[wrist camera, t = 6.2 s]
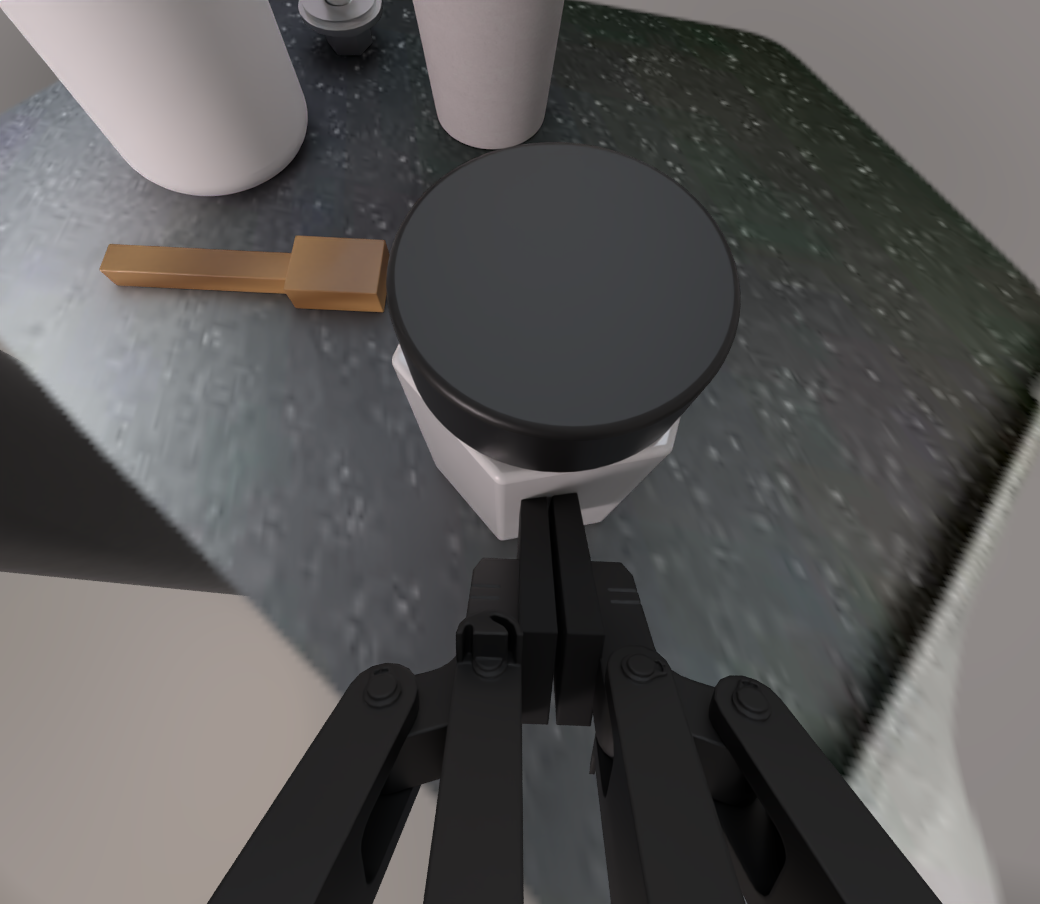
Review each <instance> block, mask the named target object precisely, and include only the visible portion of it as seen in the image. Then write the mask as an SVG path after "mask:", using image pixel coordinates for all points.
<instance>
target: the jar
mask: <svg viewBox="0 0 1040 904" xmlns="http://www.w3.org/2000/svg"><path fill="white" fill-rule="evenodd" d="M386 293H387V303H388V308H389V313H390V317H391V321H392V324H393V327H394V330H395V333H396V336H397V338H398V341H399V345H398V347H397V349H396V351H395V353H394V355H393V357H392V364H393V367H394V369H395V371H396V374H397V376H398V378H399V381H400V383H401V385H402V388H403V390H404V392H405V395H406V397H407V399H408V402H409V404H410V406H411V409H412V411H413V413H414V416H415V418H416V420H417V423H418V425H419V427H420V430H421V432H422V434H423V437H424V439H425V442H426V444H427V446H428V449H429V451H430V453H431V456H432V458H433V460H434V463H435V465H436V466H437V467H438V469H439V470H440V471H441V472H442V473H443V475H444V476H445V477H446V478H447V479H448V480H449V482H450V483H451V484H452V485H453V486H454V487H455V489H456V490H457V491H458V492H459V493H460V495H461V496H462V497H463V498H464V499H465V500H466V502H467V503H468V504H469V505H470V506H471V507H472V509H473V510H474V511H475V512H476V513H477V515H478V516H479V517H480V518H481V519H482V520H483V522H484V523H485V524H486V525H487V526H488V527H489V529H490V530H491V531H492V532H493V533H494V535H495V536H496V537H497V538H498V539H500V540H508V539H513V538H518V530H519V513H520V505H521V500H523V499H531V498H539V497H546V496H547V507H549V505H550V502H551V499H552V497H553V496H554V495H562V494H570V493H577V494H578V499H579V504H580V509H581V514H582V519H583V524H584V525H586V524H592V523H597V522H601V521H603V520H604V519H605V518H606V517H607V516H608V515H609V514H610V513H611V512H612V511H613V510H614V509H615V508H616V507H617V506H618V505H619V504H620V503H621V502H622V501H623V500H624V499H625V498H626V497H627V496H628V495H629V494H630V493H631V492H632V491H633V490H634V489H635V488H636V487H637V486H638V485H639V484H640V483H641V482H642V481H643V480H644V479H645V478H646V477H647V476H648V475H649V474H650V473H651V472H652V471H653V470H654V469H655V468H656V467H657V466H658V465H659V464H660V463H661V462H662V461H663V460H664V459H665V458H666V457H667V456H668V455H669V454H670V452H671V451H672V449H673V445H674V441H675V437H676V433H677V429H678V425H679V421H680V417H681V415H682V414H683V413H684V412H685V410H686V409H687V408H688V407H689V406H690V405H691V404H692V402H693V401H694V400H695V399H696V398H697V397H698V395H699V394H700V393H701V392H702V391H703V390H704V389H705V387H706V386H707V385H708V384H709V383H710V382H711V380H712V379H713V378H714V376H715V375H716V374H717V372H718V371H719V369H720V368H721V366H722V364H723V363H724V361H725V359H726V357H727V355H728V353H729V351H730V348H731V346H732V343H733V340H734V338H735V334H736V330H737V326H738V322H739V315H740V284H739V277H738V273H737V268H736V264H735V261H734V258H733V255H732V252H731V249H730V247H729V245H728V243H727V241H726V239H725V236H724V235H723V233H722V231H721V230H720V228H719V226H718V225H717V223H716V222H715V220H714V219H713V218H712V216H711V215H710V213H709V212H708V211H707V210H706V209H705V208H704V206H703V205H702V204H701V203H700V202H699V201H698V200H697V199H696V198H695V197H694V196H693V195H692V194H691V193H690V192H689V191H688V190H686V189H685V188H684V187H683V186H681V185H680V184H679V183H678V182H676V181H675V180H674V179H672V178H671V177H669V176H668V175H666V174H665V173H663V172H661V171H660V170H658V169H656V168H654V167H652V166H651V165H649V164H647V163H644V162H642V161H640V160H638V159H636V158H633V157H630V156H628V155H625V154H622V153H619V152H616V151H613V150H609V149H605V148H601V147H596V146H592V145H585V144H578V143H565V142H542V143H530V144H523V145H516V146H512V147H507V148H503V149H499V150H496V151H493V152H490V153H486V154H484V155H482V156H479V157H477V158H474V159H472V160H470V161H468V162H466V163H464V164H462V165H460V166H458V167H457V168H455V169H453V170H452V171H450V172H449V173H447V174H446V175H444V176H443V177H442V178H440V179H439V180H438V181H437V182H435V183H434V184H433V185H432V186H431V187H430V188H429V189H428V190H427V191H425V193H424V194H423V195H422V196H421V197H420V198H419V199H418V200H417V201H416V203H415V204H414V205H413V207H412V208H411V210H410V211H409V212H408V214H407V215H406V217H405V219H404V220H403V222H402V224H401V226H400V227H399V229H398V232H397V234H396V236H395V239H394V241H393V244H392V248H391V251H390V254H389V260H388V266H387V276H386Z"/></svg>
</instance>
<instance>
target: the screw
mask: <svg viewBox="0 0 1040 904" xmlns="http://www.w3.org/2000/svg"><path fill="white" fill-rule="evenodd" d="M298 9H299V12H300V15H301V18H302V20H303V22H304V23H305V24H306V25H307V26H308V27H309V28H310V29H312V30H313V31H315V32H318V33H320V34H324V35H326V38H327V41H328V43H329V44H330V45H331V47H332V48H333V49H334V51H335V52H336V53H337V55H361V54H362V53H363V52H364V51H365V50H366V49H367V48H368V47H369V46H370V45H371V44H372V42H373V41H372V37H371V32H370V28H371V27H372V26H374V25H375V24H376V23H377V22H378V20H379V19H380V18H381V15H382V12H383V6H382V1H381V0H299V3H298Z"/></svg>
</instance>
